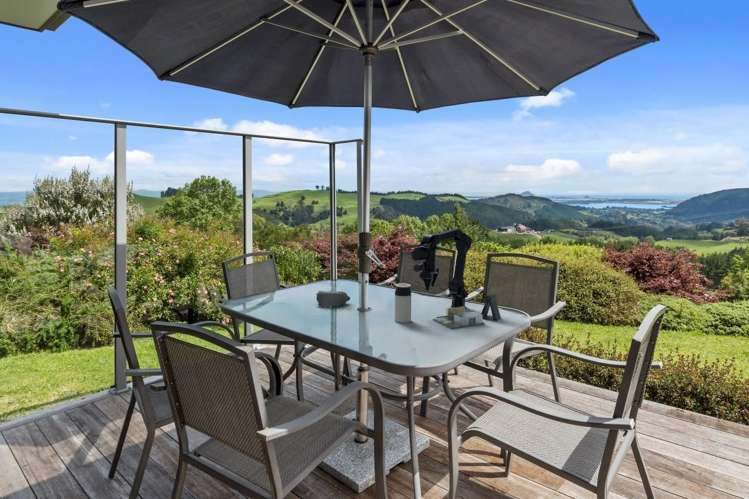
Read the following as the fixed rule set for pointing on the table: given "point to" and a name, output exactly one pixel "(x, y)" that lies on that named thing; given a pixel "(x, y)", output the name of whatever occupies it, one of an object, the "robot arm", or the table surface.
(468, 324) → the frame
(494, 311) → the phone stand
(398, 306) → the travel mug
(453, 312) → the plate
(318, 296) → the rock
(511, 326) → the table surface
